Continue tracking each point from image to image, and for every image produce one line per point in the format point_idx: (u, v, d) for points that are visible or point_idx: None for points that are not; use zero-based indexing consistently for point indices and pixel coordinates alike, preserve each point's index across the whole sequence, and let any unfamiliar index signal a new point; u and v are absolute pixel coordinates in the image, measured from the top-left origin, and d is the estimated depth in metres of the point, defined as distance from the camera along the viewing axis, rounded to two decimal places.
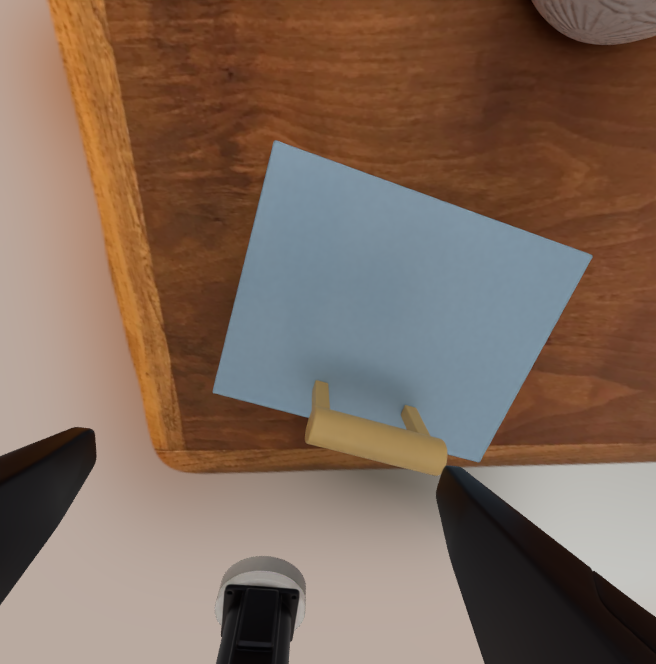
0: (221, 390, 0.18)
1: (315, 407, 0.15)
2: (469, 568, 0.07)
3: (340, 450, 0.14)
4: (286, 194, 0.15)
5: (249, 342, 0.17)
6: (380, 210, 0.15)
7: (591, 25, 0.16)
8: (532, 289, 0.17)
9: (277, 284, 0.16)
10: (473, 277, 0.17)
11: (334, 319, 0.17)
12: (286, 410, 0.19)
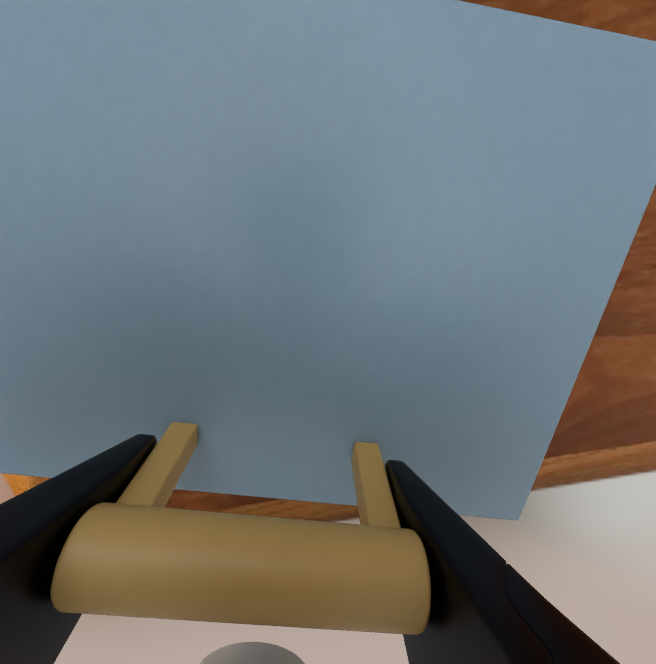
0: (5, 466, 0.10)
1: (86, 512, 0.06)
2: None
3: (153, 617, 0.06)
4: None
5: (20, 370, 0.09)
6: (188, 25, 0.07)
7: None
8: (575, 161, 0.08)
9: (26, 243, 0.08)
10: (439, 156, 0.07)
11: (168, 298, 0.08)
12: None
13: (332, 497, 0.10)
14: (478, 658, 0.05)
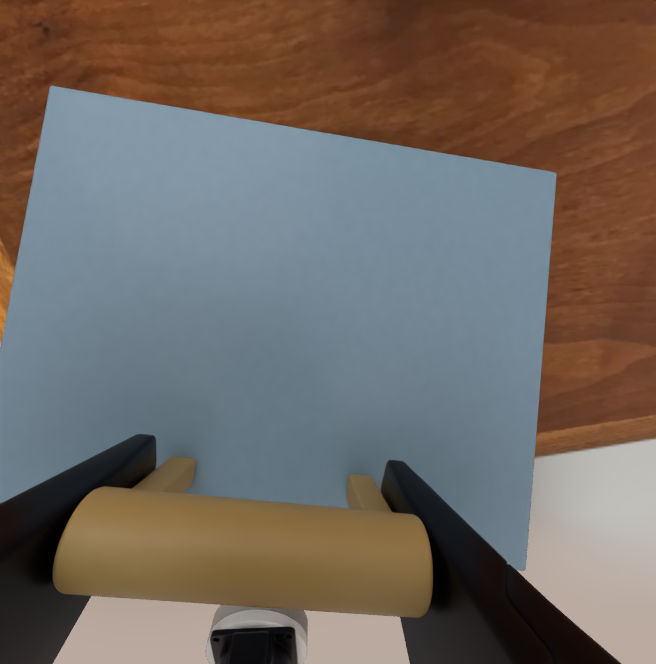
0: None
1: None
2: None
3: (151, 596, 0.05)
4: (77, 152, 0.10)
5: (35, 404, 0.09)
6: (226, 154, 0.10)
7: None
8: (491, 233, 0.11)
9: (76, 290, 0.10)
10: (396, 230, 0.11)
11: (185, 334, 0.10)
12: None
13: None
14: (480, 659, 0.05)
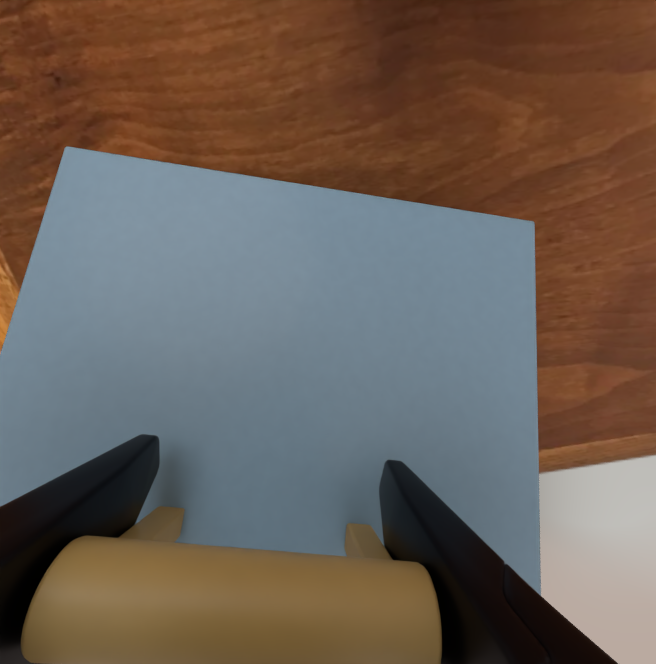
0: None
1: (79, 539, 0.06)
2: None
3: None
4: (85, 204, 0.11)
5: (19, 450, 0.09)
6: (226, 206, 0.11)
7: None
8: (478, 276, 0.11)
9: (72, 333, 0.10)
10: (387, 273, 0.11)
11: (180, 375, 0.10)
12: None
13: None
14: (476, 658, 0.05)
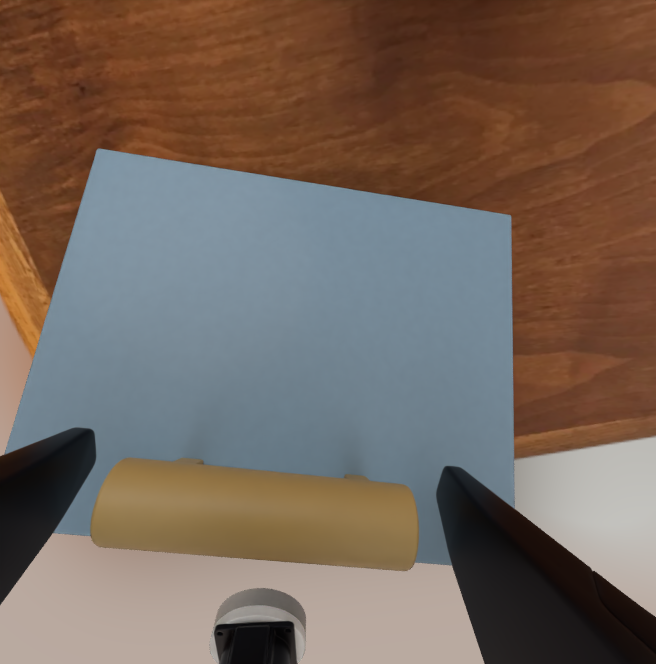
0: None
1: None
2: (469, 568, 0.07)
3: (173, 544, 0.06)
4: (115, 198, 0.12)
5: (60, 409, 0.10)
6: (238, 200, 0.12)
7: None
8: (460, 262, 0.13)
9: (105, 309, 0.11)
10: (380, 260, 0.13)
11: (199, 347, 0.11)
12: None
13: None
14: None
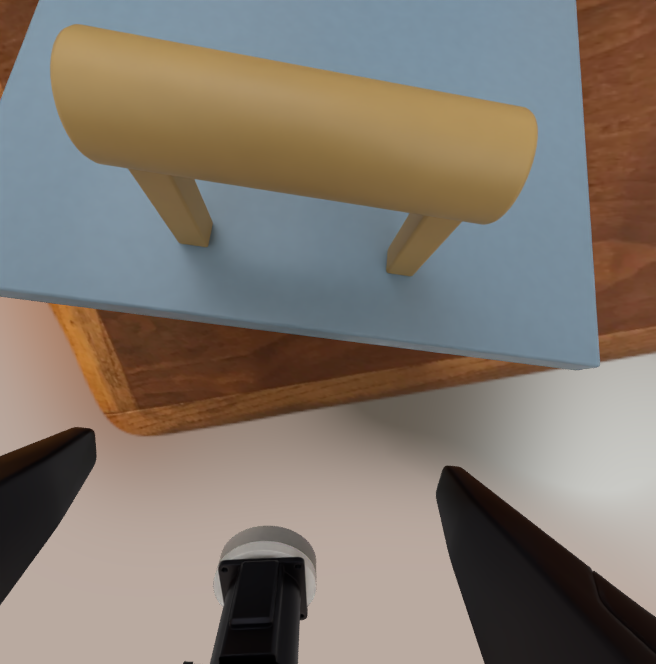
0: None
1: None
2: (469, 568, 0.07)
3: (177, 108, 0.04)
4: None
5: (32, 156, 0.08)
6: None
7: None
8: (518, 37, 0.11)
9: None
10: (424, 27, 0.10)
11: None
12: (121, 300, 0.08)
13: (367, 326, 0.08)
14: None
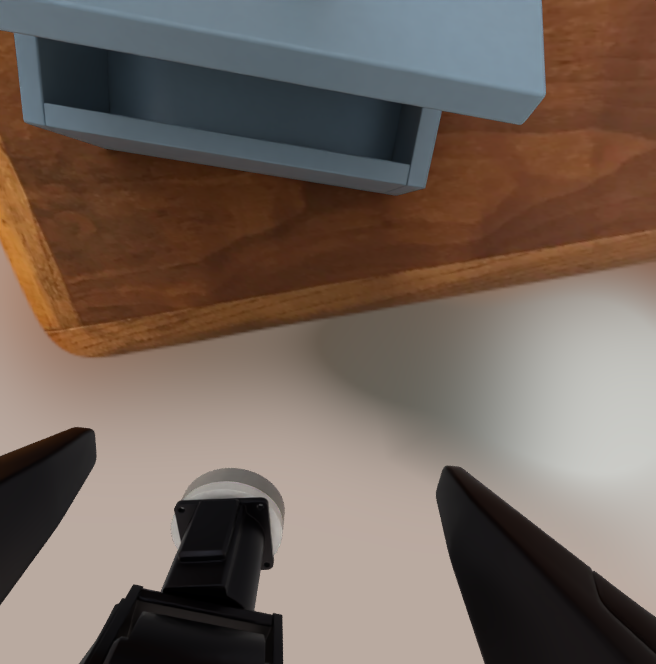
0: None
1: None
2: (469, 568, 0.07)
3: None
4: None
5: None
6: None
7: None
8: None
9: None
10: None
11: None
12: None
13: (248, 27, 0.07)
14: None
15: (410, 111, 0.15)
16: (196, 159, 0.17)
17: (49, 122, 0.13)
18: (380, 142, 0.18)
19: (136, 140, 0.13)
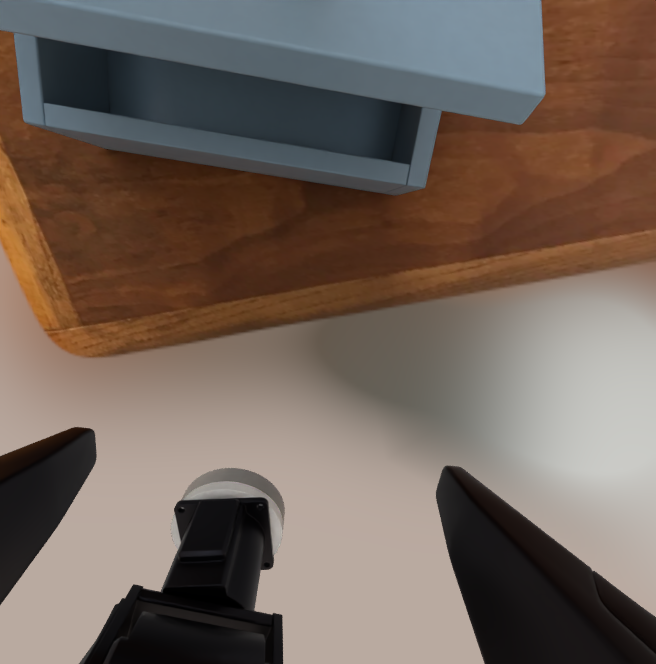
0: None
1: None
2: (469, 568, 0.07)
3: None
4: None
5: None
6: None
7: None
8: None
9: None
10: None
11: None
12: None
13: (248, 27, 0.07)
14: None
15: (410, 111, 0.15)
16: (196, 159, 0.17)
17: (49, 122, 0.13)
18: (379, 142, 0.18)
19: (136, 140, 0.13)
